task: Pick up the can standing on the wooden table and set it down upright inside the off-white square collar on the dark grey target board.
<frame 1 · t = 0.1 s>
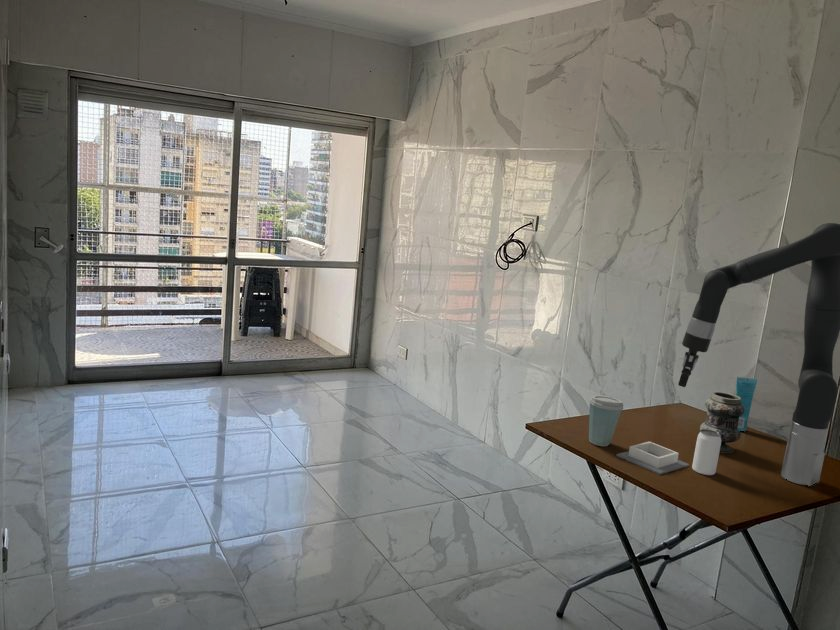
hand: (682, 383, 211), 22 cm above the table, tool pointing down, fingers open, 8 cm apart
disposable coffee cup: (600, 443, 216), on the table
target board: (652, 460, 205), on the table
apothecary jar: (716, 448, 222), on the table
can: (703, 472, 200), on the table
tube: (737, 430, 244), on the table
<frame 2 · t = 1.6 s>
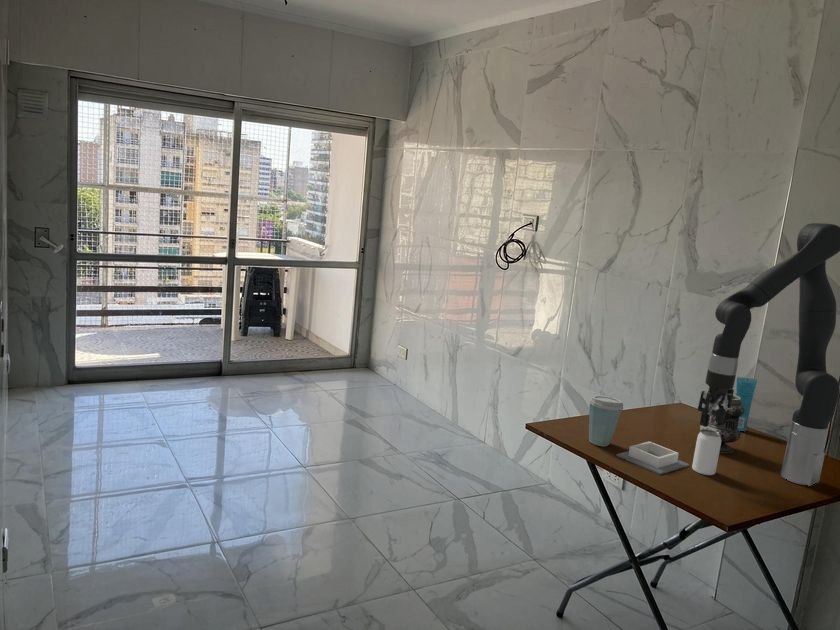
hand: (711, 424, 198), 15 cm above the table, tool pointing down, fingers open, 8 cm apart
nothing on the table moved.
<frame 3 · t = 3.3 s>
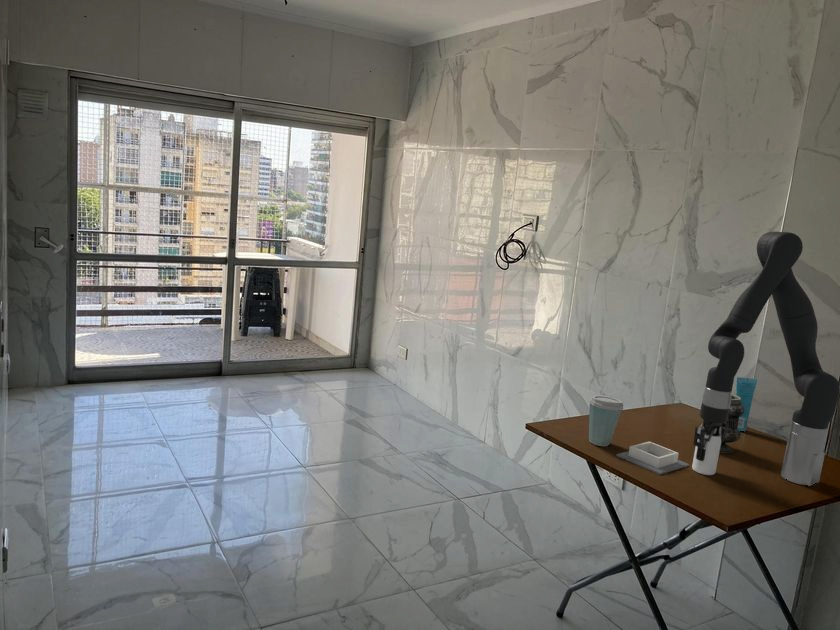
hand: (706, 457, 200), 4 cm above the table, tool pointing down, fingers closed on can, 6 cm apart
can: (703, 471, 200), on the table, touching gripper
everything else where it was.
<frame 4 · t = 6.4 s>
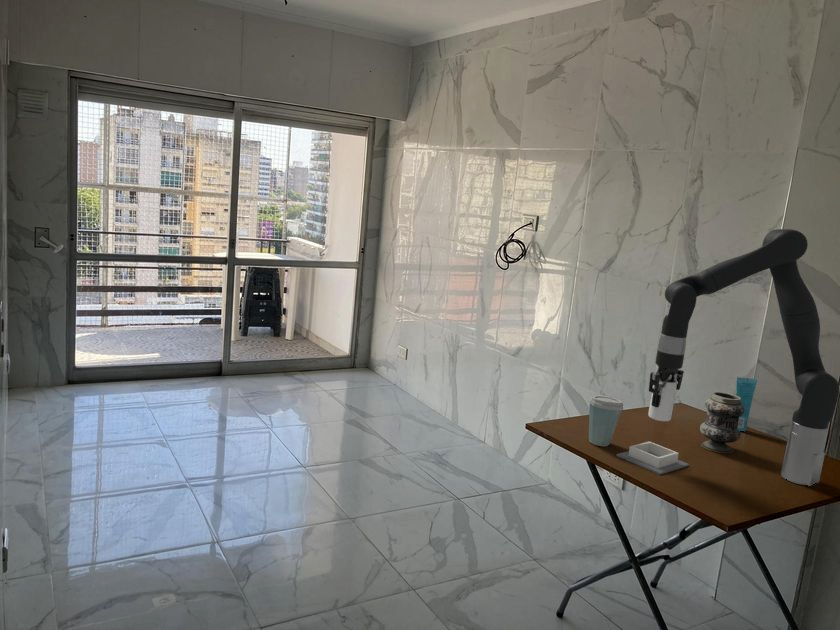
hand: (661, 404, 202), 18 cm above the table, tool pointing down, fingers closed on can, 6 cm apart
can: (659, 419, 202), point 13 cm above the table, touching gripper
everything else where it was.
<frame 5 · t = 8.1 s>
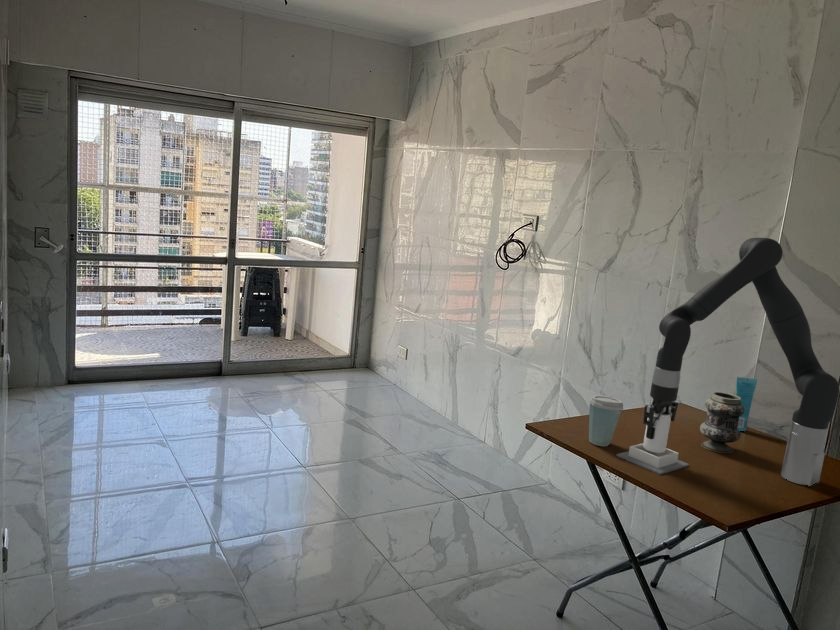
hand: (656, 436, 203), 8 cm above the table, tool pointing down, fingers closed on can, 6 cm apart
can: (653, 450, 204), point 3 cm above the table, touching gripper
everything else where it was.
when the fingers open (6 cm above the table, at t = 9.5 s): can drops 1 cm, resting on target board.
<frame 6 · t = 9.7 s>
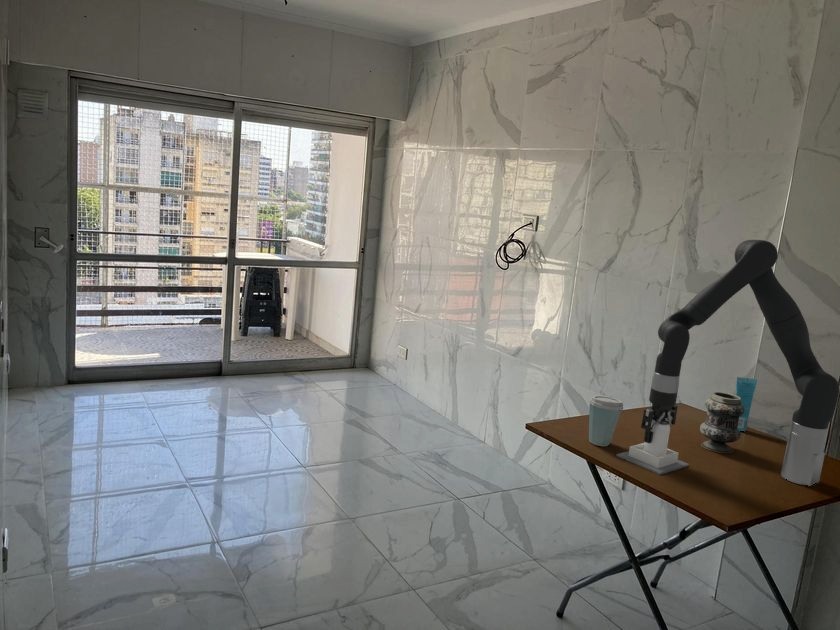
hand: (655, 440, 204), 7 cm above the table, tool pointing down, fingers open, 8 cm apart
can: (653, 459, 205), resting on target board
everything else where it was.
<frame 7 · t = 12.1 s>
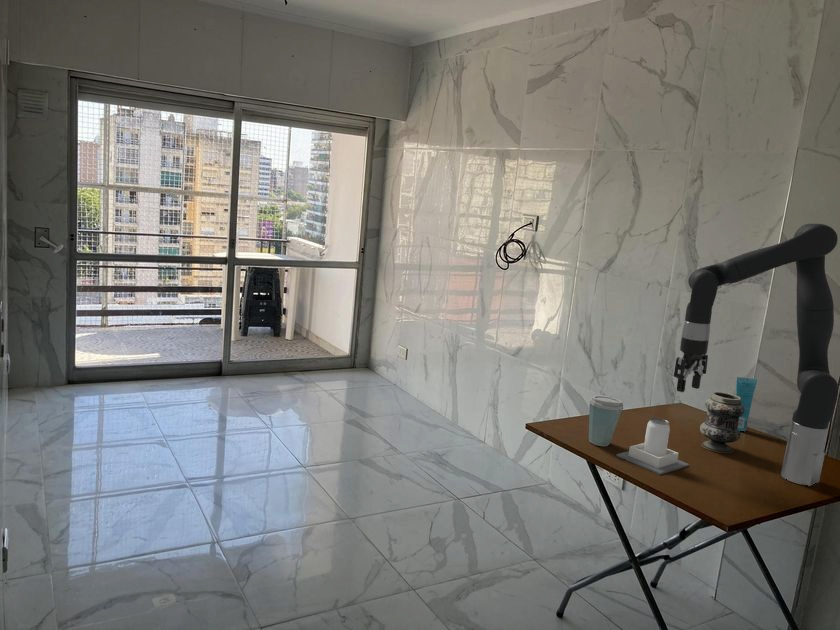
hand: (687, 389, 204), 22 cm above the table, tool pointing down, fingers open, 8 cm apart
nothing on the table moved.
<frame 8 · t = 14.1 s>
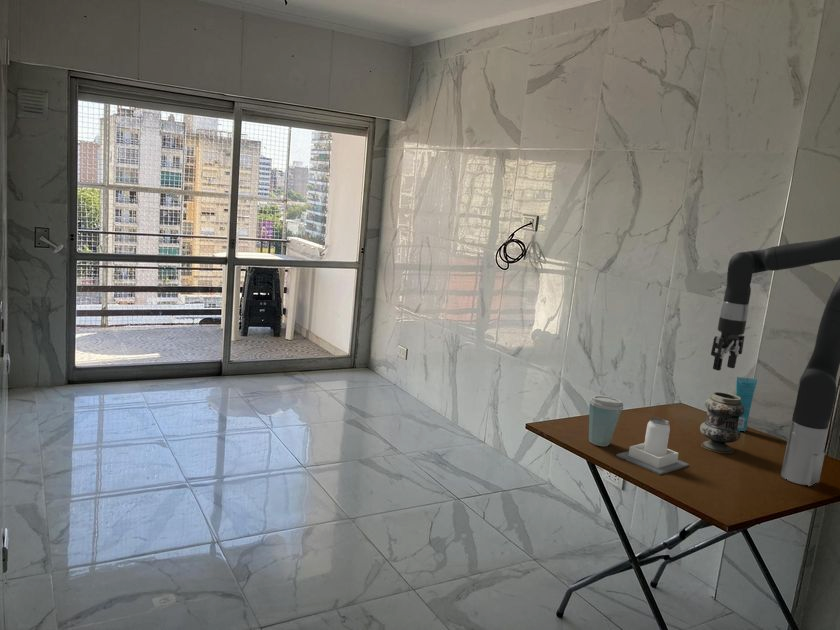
hand: (723, 368, 210), 28 cm above the table, tool pointing down, fingers open, 8 cm apart
nothing on the table moved.
at the end: can 0.2 cm off-centre on the target board, point 0.4 cm above the target board's base; can tilted 0°; the gripper is holding nothing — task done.
